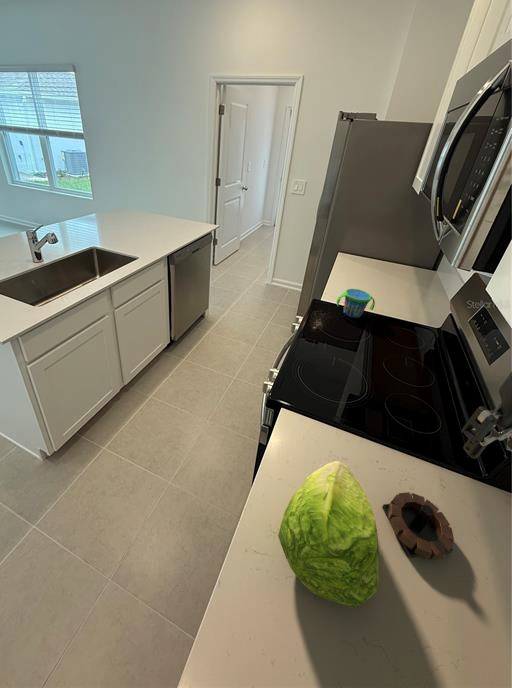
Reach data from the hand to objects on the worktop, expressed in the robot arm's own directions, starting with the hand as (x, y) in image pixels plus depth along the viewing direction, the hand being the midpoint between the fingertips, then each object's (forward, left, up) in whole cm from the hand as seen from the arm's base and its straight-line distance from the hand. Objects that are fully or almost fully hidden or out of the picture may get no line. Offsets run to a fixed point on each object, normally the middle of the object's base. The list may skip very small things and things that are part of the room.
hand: (491, 451), depth 53 cm
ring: (+6, +1, -22) cm, 23 cm away
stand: (+6, +1, -23) cm, 24 cm away
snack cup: (-22, -81, -24) cm, 87 cm away
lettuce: (+24, 0, -24) cm, 34 cm away
